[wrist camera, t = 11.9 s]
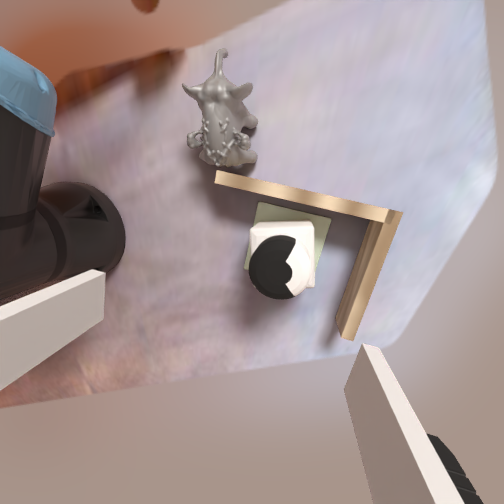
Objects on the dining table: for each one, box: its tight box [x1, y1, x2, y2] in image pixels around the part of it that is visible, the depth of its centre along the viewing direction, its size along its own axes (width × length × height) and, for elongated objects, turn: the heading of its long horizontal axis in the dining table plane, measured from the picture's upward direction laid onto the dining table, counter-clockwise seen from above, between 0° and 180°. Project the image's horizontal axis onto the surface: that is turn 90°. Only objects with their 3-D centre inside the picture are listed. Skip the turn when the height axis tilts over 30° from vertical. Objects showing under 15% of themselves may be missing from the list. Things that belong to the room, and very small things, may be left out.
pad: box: [244, 202, 331, 271], centre depth 34 cm, size 10×10×1 cm
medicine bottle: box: [249, 219, 315, 299], centre depth 28 cm, size 7×7×12 cm
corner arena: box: [215, 170, 403, 341], centre depth 32 cm, size 21×16×5 cm
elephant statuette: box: [182, 48, 258, 168], centre depth 28 cm, size 9×12×8 cm
